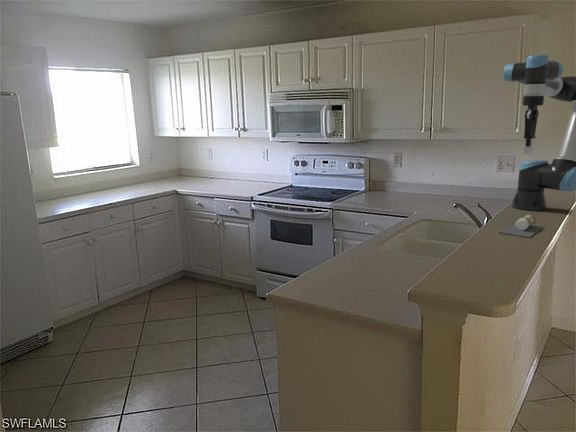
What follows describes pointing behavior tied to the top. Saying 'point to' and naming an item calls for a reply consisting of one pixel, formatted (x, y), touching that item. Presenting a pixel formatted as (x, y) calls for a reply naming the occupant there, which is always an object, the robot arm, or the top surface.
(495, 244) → the top surface
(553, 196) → the top surface
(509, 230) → the mat
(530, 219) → the sprinkles bottle
